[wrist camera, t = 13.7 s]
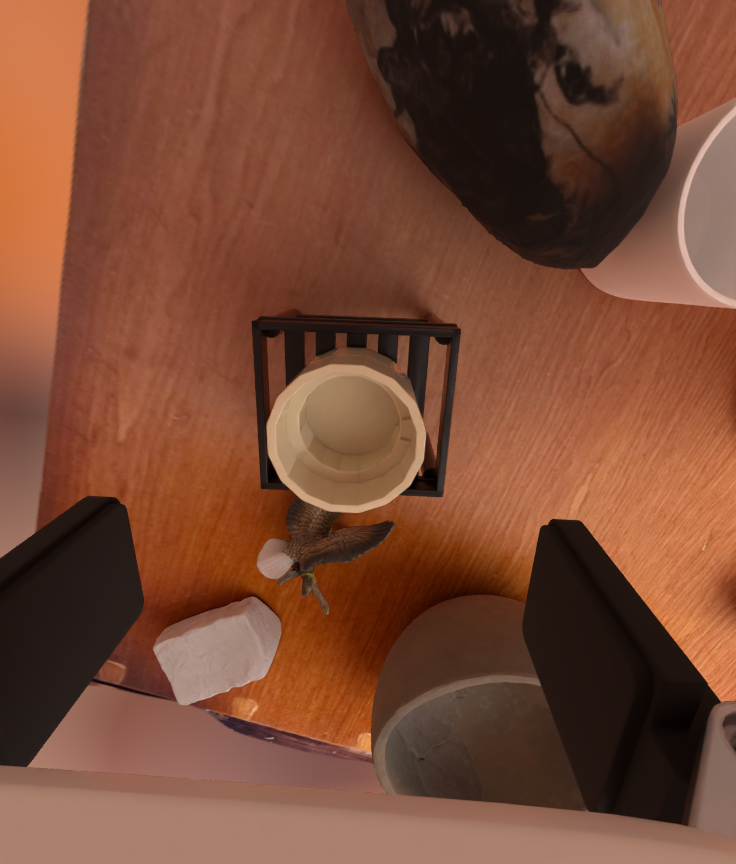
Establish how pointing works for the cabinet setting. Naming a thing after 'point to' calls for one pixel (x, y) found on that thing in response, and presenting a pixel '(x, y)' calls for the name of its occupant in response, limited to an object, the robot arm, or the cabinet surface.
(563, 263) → the decorative stone
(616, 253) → the mug
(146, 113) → the cabinet surface
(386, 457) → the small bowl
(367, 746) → the cabinet surface
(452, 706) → the bowl
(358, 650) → the cabinet surface
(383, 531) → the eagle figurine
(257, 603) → the pale pink rock
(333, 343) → the rack
